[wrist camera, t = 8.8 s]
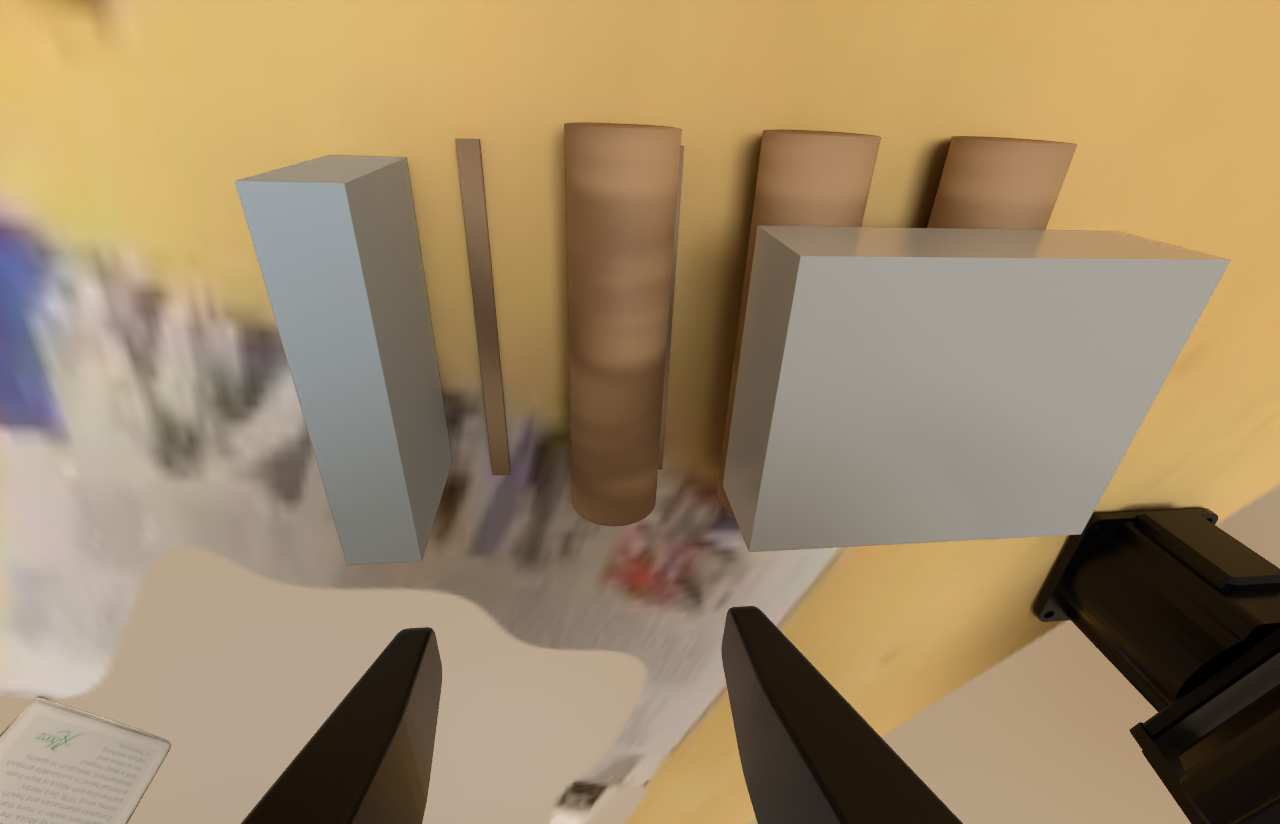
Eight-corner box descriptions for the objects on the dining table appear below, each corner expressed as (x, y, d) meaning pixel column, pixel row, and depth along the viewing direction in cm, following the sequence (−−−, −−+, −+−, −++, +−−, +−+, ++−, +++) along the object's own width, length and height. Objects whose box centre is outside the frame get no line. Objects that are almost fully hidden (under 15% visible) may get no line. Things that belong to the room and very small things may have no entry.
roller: (604, 465, 22) (670, 492, 21) (554, 505, 20) (626, 538, 19) (608, 122, 16) (701, 129, 15) (539, 123, 14) (642, 132, 13)
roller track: (914, 466, 23) (959, 514, 20) (494, 482, 21) (484, 537, 18) (1024, 138, 17) (1106, 146, 14) (454, 118, 15) (431, 123, 13)
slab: (1011, 474, 19) (1081, 534, 17) (722, 485, 18) (749, 551, 15) (1117, 231, 15) (1230, 260, 13) (757, 225, 14) (800, 256, 12)
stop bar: (452, 461, 20) (421, 561, 16) (394, 463, 20) (347, 565, 16) (406, 157, 15) (344, 183, 11) (328, 155, 15) (234, 181, 11)
